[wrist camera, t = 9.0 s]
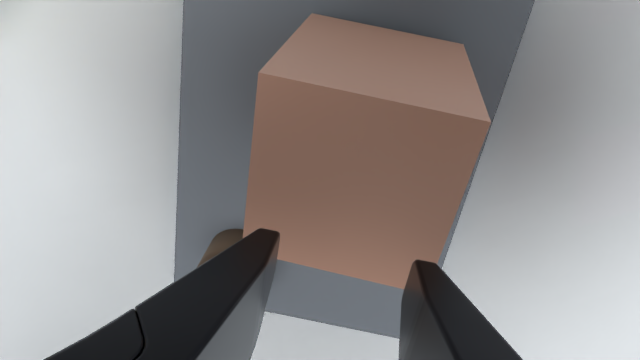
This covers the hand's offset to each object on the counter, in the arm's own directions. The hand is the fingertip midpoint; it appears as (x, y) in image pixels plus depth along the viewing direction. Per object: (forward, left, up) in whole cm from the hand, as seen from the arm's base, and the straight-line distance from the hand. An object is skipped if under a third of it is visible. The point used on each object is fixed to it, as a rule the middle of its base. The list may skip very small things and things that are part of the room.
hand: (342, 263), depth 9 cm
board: (-3, +1, -11) cm, 11 cm away
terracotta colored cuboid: (0, 0, -10) cm, 10 cm away
